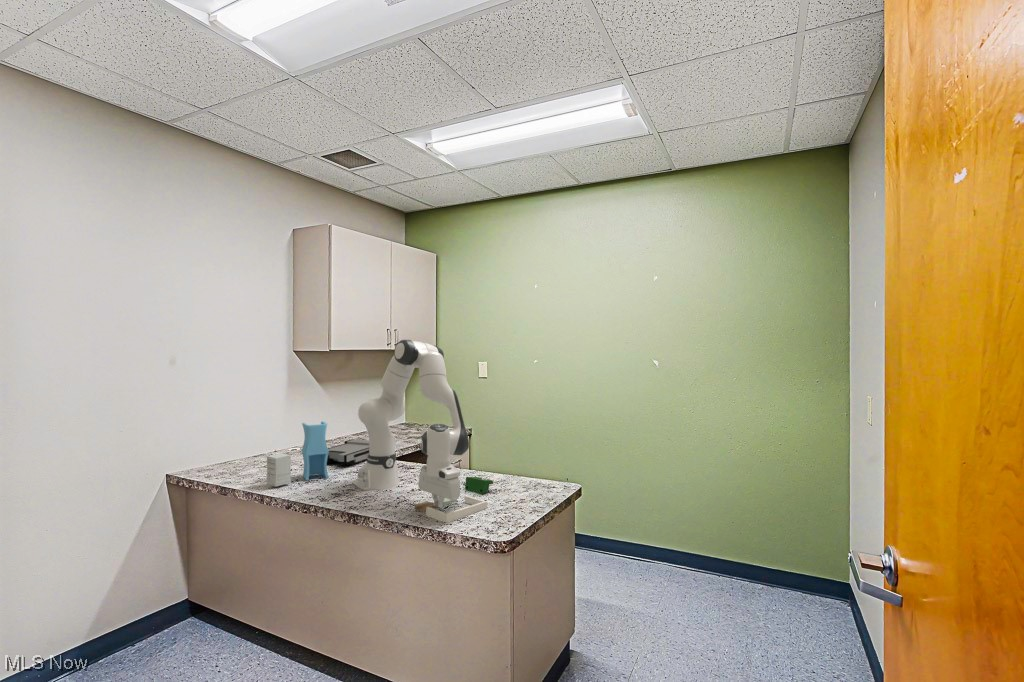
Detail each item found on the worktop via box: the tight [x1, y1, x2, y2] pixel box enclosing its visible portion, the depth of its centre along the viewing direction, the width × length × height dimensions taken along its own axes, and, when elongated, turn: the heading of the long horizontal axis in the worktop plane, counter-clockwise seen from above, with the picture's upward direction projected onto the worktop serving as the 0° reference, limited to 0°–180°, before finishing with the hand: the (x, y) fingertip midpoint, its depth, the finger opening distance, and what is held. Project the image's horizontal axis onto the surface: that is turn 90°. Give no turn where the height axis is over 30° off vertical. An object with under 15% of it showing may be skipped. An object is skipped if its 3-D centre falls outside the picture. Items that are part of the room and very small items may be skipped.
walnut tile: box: [414, 500, 438, 513], centre depth 194 cm, size 6×6×2 cm
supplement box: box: [266, 452, 292, 487], centre depth 228 cm, size 7×7×13 cm
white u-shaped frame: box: [425, 495, 488, 524], centre depth 189 cm, size 12×20×3 cm, turn 138°
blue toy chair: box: [301, 421, 329, 481], centre depth 241 cm, size 10×10×25 cm
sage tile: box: [438, 498, 458, 506], centre depth 201 cm, size 6×6×2 cm
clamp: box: [464, 476, 494, 495], centre depth 216 cm, size 12×6×9 cm, turn 44°
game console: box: [327, 438, 369, 468], centre depth 274 cm, size 21×32×8 cm, turn 160°
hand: (438, 506), depth 188 cm, fingers closed
